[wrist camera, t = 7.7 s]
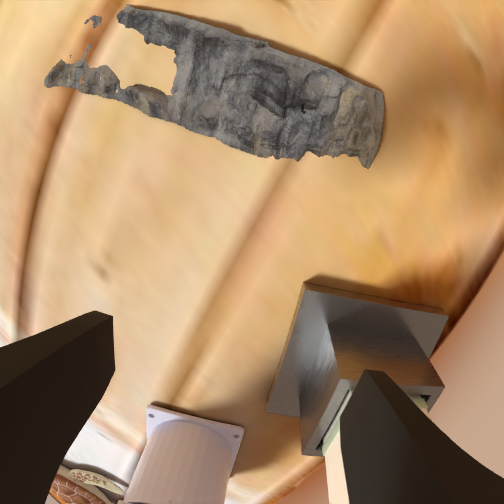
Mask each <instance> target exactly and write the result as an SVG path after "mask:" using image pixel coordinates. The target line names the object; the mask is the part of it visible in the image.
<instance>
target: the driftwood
mask: <svg viewBox="0 0 504 504" xmlns="http://www.w3.org/2000/svg"><path fill="white" fill-rule="evenodd" d="M117 19H118V22H119V23H121V24H124V25H125V27H126V28H134V29H136V30H137V31H138V32H139V33H141V34H143V35H144V41H145V42H146V44H149V43H153V44H155V45H158V46H162V45H164V46H166V47H167V48H169V49H173V50H175V54H176V57H175V58H174V63H175V64H176V66H177V73H176V76H175V79H174V83H173V87H172V89H171V93H172V95H173V96H171V95H166V94H165V93H164V92H162V91H160V90H158V89H156V88H153V87H148V86H145V85H142V84H139V85H135V86H129V87H127V88H126V89H121V88H120V80H119V79H118V77H117V76H116V75H115V73H114V72H113V71H112V70H111V69H110V68H109V67H108V66H107V65H103V66H99V67H98V68H89V66H88V64H87V63H86V62H85V57H86V54H87V52H88V50H89V49H90V48H91V46H92V45H91V44H89V45H88V47H87V49H86V51H85V53H84V55H83V57H82V59H81V60H80V61H77V62H74V63H73V64H71V65H70V64H65V62H64V61H63V60H62V59H61V60H60V61H59V62H58V63H57V64H56V66H54V67H53V68H52V69H51V71H50V72H49V74H48V75H47V76H46V78H45V81H44V84H45V86H46V87H47V88H51V87H53V86H58V87H59V86H63V87H68V88H77V89H79V91H80V92H82V93H85V94H92V95H94V94H95V95H99V97H100V96H101V97H103V98H110V99H116V100H118V101H121V102H124V103H125V104H128V105H130V106H133V107H134V108H137V109H139V110H141V111H142V112H143V113H144V114H147V115H148V116H150V117H156V118H159V119H164V120H165V121H169V122H174V123H177V124H178V125H180V126H183V127H185V128H186V129H188V130H190V131H193V132H195V133H199V134H202V135H205V136H209V137H215V138H217V139H218V140H220V141H221V142H222V143H224V144H227V145H228V146H230V147H233V148H236V149H240V150H241V151H244V152H247V153H250V154H253V155H257V156H258V157H264V158H268V157H269V156H270V157H271V156H272V155H273V156H274V158H275V159H278V160H279V159H280V158H293V159H295V160H296V161H297V162H298V161H299V160H300V159H301V158H302V157H303V156H304V154H305V153H306V151H311V152H312V153H314V154H315V155H317V156H318V157H320V156H324V155H329V156H331V157H333V158H334V157H335V156H336V157H338V156H340V155H341V154H347V155H348V156H349V157H352V156H358V158H359V160H360V162H361V164H362V166H363V167H365V168H367V169H368V168H370V164H371V163H372V162H373V159H374V157H375V156H376V152H377V151H378V147H379V146H380V145H379V140H380V139H381V135H382V132H381V131H382V123H383V120H384V117H383V116H384V102H383V100H384V99H383V98H384V97H383V94H382V93H381V91H379V90H377V89H374V88H370V87H368V86H364V85H362V84H360V83H359V82H356V81H354V80H352V79H350V78H347V77H344V76H343V75H342V74H340V73H338V72H336V71H335V70H333V69H329V68H328V67H325V66H322V65H321V64H319V63H315V62H312V61H309V60H308V59H305V58H300V57H298V56H294V55H290V54H287V53H285V52H282V51H280V50H277V49H274V48H271V47H270V46H269V43H268V42H267V41H263V40H257V39H252V38H249V37H244V36H239V35H235V34H233V33H231V32H230V31H228V30H225V29H222V28H217V27H214V26H212V25H209V24H208V25H207V24H205V23H202V22H198V21H196V20H194V19H188V18H186V17H182V16H178V15H175V14H170V13H166V12H159V11H151V10H141V9H140V10H139V9H138V8H137V9H135V8H134V7H133V6H132V7H131V6H130V5H128V4H127V5H126V7H125V8H124V10H122V11H120V12H119V13H118V15H117ZM89 20H92V21H94V22H93V28H96V27H97V26H98V25H99V24H100V23H101V20H102V17H99V16H95V15H94V16H92V17H90V19H88V20H86V22H85V23H84V24H86V23H88V22H89ZM93 38H95V37H93ZM70 58H71V55H70ZM82 75H83V79H82V83H81V84H80V85H79V82H78V80H79V79H80V78H81V76H82ZM100 77H101V80H100ZM117 89H118V93H116V90H117ZM176 93H177V94H176ZM174 94H176V95H174ZM333 158H332V159H333Z"/></svg>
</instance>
